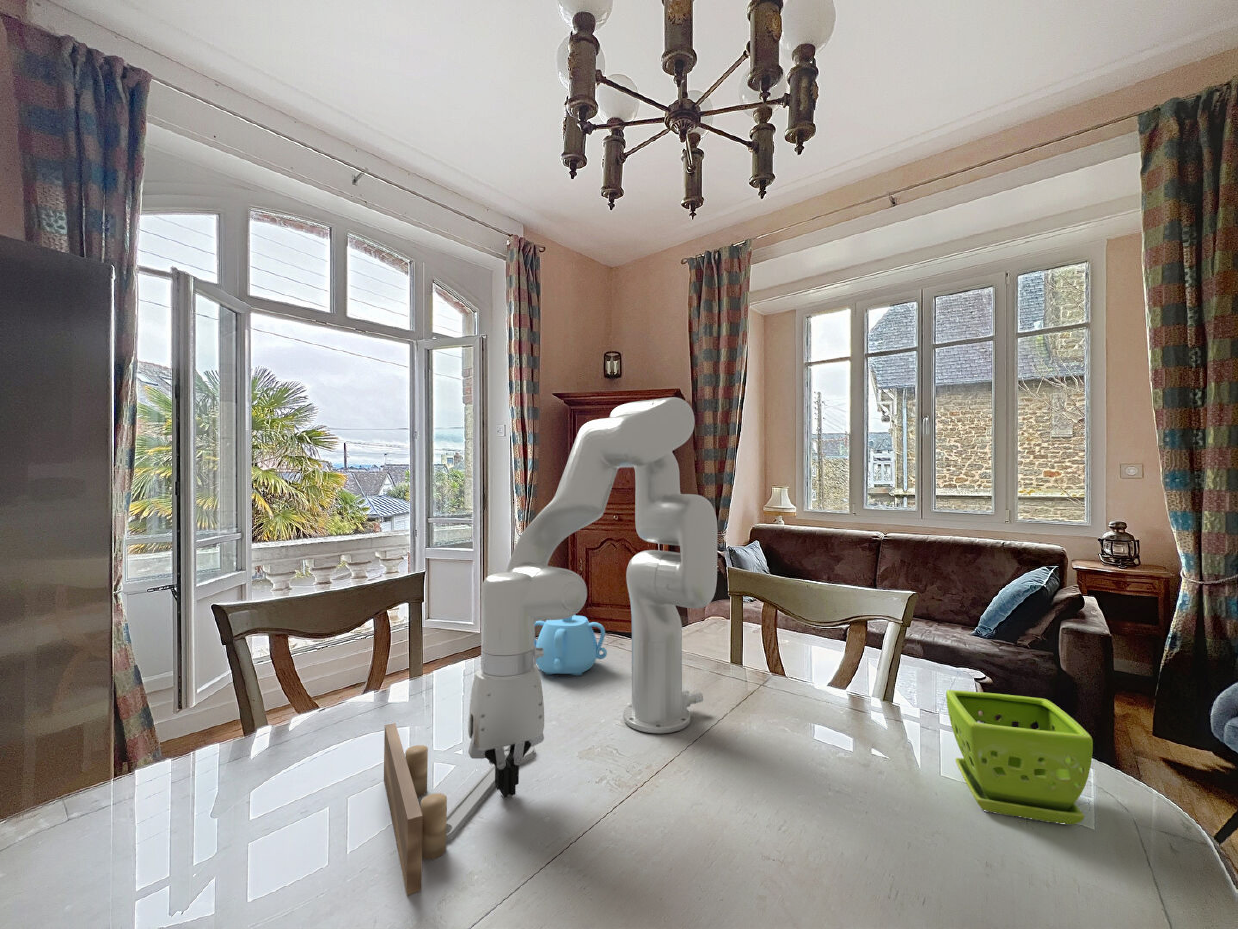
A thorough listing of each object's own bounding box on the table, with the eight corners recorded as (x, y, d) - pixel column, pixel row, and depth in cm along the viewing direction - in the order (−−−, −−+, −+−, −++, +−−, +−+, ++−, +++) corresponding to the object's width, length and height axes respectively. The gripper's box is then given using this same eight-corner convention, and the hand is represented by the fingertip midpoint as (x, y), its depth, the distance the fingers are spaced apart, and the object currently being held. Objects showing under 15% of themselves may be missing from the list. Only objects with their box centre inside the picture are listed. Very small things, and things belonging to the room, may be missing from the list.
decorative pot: (521, 665, 132) (521, 609, 133) (579, 654, 141) (579, 601, 141) (550, 686, 119) (550, 624, 119) (612, 672, 127) (612, 614, 128)
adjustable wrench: (446, 851, 66) (446, 836, 66) (403, 840, 68) (403, 826, 68) (539, 753, 90) (539, 742, 90) (505, 747, 92) (505, 737, 92)
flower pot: (1052, 784, 80) (1050, 697, 80) (1101, 843, 67) (1098, 739, 67) (944, 768, 85) (943, 685, 85) (970, 820, 71) (968, 722, 72)
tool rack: (420, 770, 83) (421, 718, 84) (456, 878, 61) (457, 806, 61) (383, 779, 81) (384, 725, 81) (406, 895, 58) (407, 819, 58)
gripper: (547, 646, 84) (546, 766, 84) (449, 661, 77) (447, 792, 76) (566, 660, 78) (565, 790, 77) (460, 678, 70) (458, 822, 70)
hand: (506, 791), depth 77 cm, fingers closed
